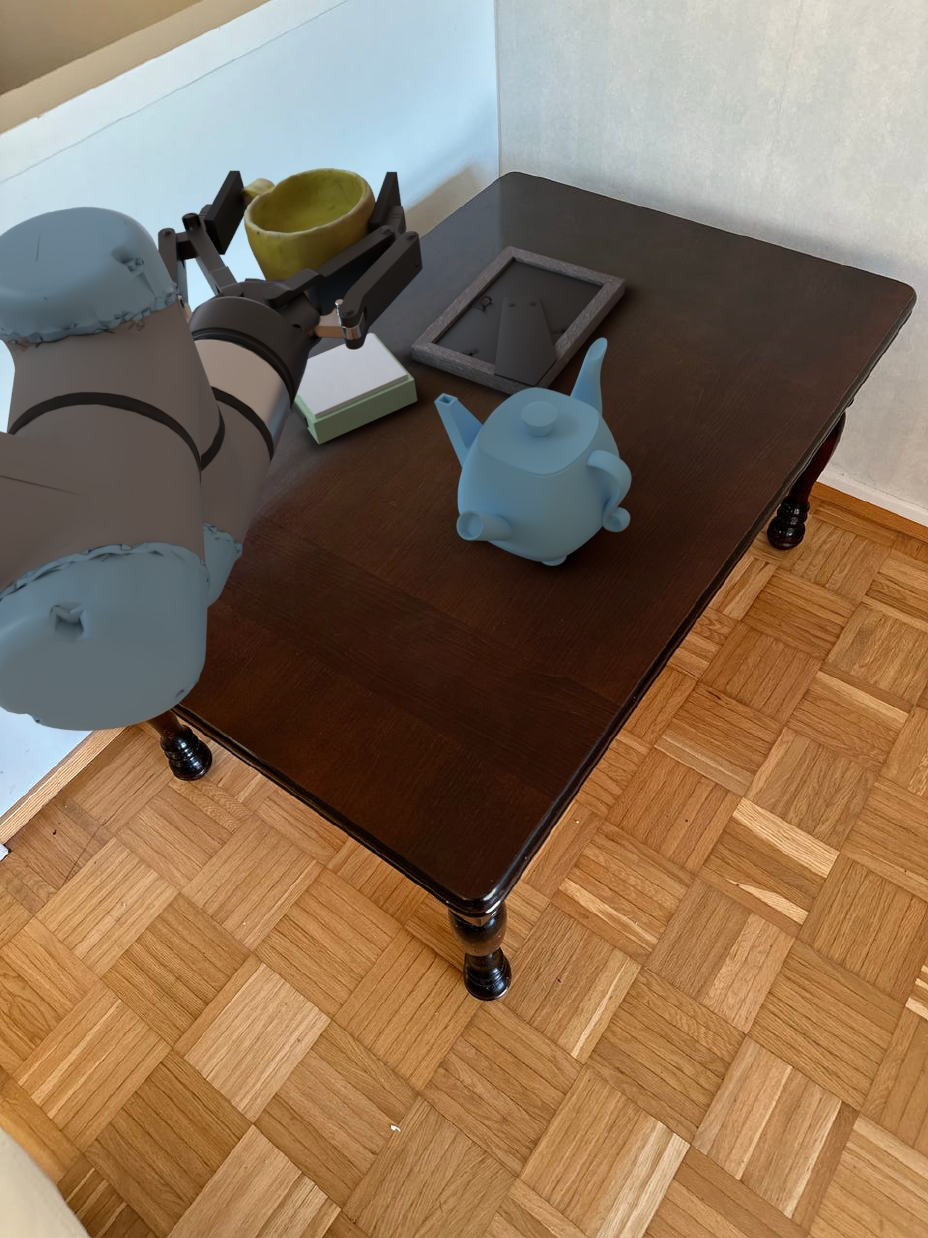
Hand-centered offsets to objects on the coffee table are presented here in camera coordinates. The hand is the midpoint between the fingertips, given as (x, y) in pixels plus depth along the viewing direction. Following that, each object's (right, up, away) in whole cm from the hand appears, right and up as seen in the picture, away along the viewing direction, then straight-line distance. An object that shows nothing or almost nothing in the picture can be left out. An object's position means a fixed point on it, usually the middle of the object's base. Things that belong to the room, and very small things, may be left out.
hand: (316, 188), depth 67 cm
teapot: (+17, -24, +6) cm, 30 cm away
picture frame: (+17, -4, +21) cm, 27 cm away
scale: (0, -12, +16) cm, 20 cm away
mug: (0, -7, +3) cm, 7 cm away
